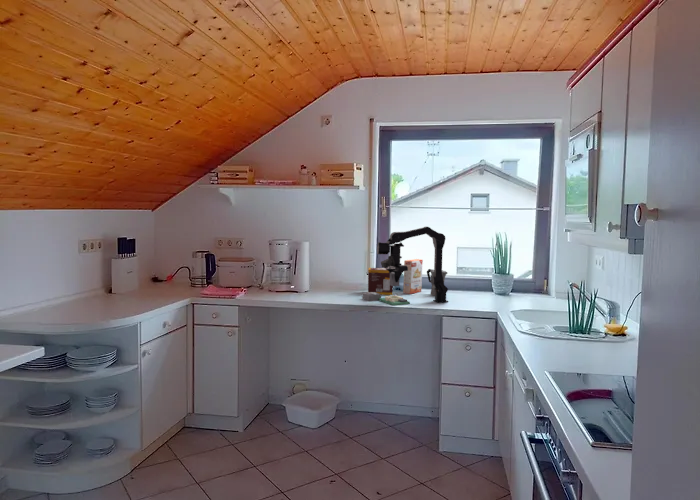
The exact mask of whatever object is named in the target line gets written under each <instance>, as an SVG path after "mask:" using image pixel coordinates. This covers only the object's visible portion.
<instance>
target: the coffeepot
mask: <svg viewBox="0 0 700 500" xmlns="http://www.w3.org/2000/svg"><path fill="white" fill-rule="evenodd" d="M433 274H434V269H431V268H429V269H427V271H426V275H427V279H428V282H429V283H431V282H430V281H431V276H433ZM447 275H448V272H447V271H446V270H443V269H442V276H443V279H444V282H445V281H446V280H445V279H446V276H447ZM430 296H433V297H435V289H434V287H433V286H432V285H431V289H430Z"/></svg>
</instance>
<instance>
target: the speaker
mask: <svg viewBox="0 0 700 500" xmlns="http://www.w3.org/2000/svg"><path fill="white" fill-rule="evenodd" d="M361 297H362V300H364V301H367V302H375V301H379V298H382V295H381V294H379V293H376V292H368V291H367V292H362V294H361Z"/></svg>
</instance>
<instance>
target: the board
mask: <svg viewBox="0 0 700 500" xmlns="http://www.w3.org/2000/svg"><path fill="white" fill-rule="evenodd" d="M378 301H380V302H382V303H386V304H388V305H391V306H402V305H410V304H411V301H409V300H408V299H405V298H404V297H402V296H399V295H397V294H396V293H395V294H394V293H393V295H384V297H381V298H379V300H378Z"/></svg>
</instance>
